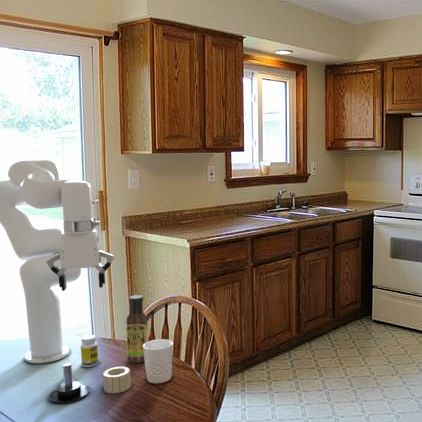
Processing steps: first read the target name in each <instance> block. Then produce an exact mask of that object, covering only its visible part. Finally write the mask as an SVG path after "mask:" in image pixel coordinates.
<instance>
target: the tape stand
mask: <svg viewBox="0 0 422 422" xmlns="http://www.w3.org/2000/svg"><path fill="white" fill-rule="evenodd" d="M62 370H63V371H62V372H63V383H61V384H59V385H57V387H56V389H54V390H53V391H51V392H50V393H49V394H48V401H49V402H50V403H51V404H55V405H65V404H72V403H75V402H79V401H81V400H83V399H85V398H86V397H88V395H90V387H89V386H87V385H85V384H81V382H80V381H73V370H72V363H71V362H67V363H64V364H63V365H62Z"/></svg>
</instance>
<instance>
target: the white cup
mask: <svg viewBox="0 0 422 422" xmlns="http://www.w3.org/2000/svg"><path fill="white" fill-rule="evenodd" d="M143 351H144V361H143V362H144V367H145V372H146V374H145V375H146V380H147V382H149V384H163V383H166V382H169V381H170V380H171V379H172V378H173V369H172V368H173V342H172V340H170V339H165V338H158V339H152V340H148V342H146V343H145V344H144V345H143Z"/></svg>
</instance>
